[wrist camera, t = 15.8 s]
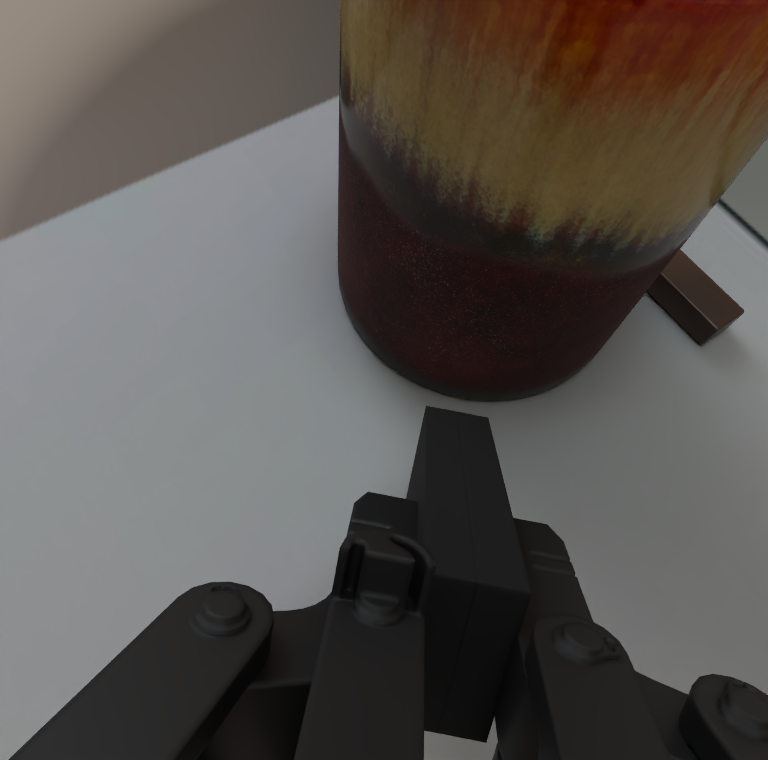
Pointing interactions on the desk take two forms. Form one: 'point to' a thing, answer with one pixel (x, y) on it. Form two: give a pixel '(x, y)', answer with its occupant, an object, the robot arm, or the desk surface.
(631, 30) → the vase
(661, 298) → the strip
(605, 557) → the desk surface
